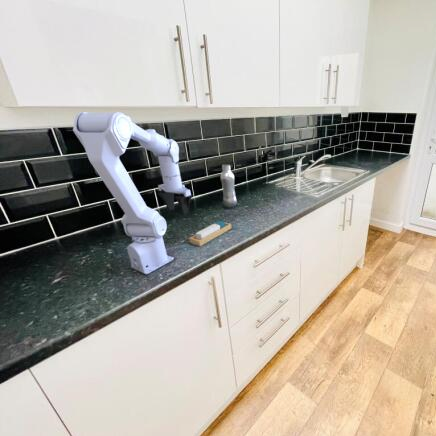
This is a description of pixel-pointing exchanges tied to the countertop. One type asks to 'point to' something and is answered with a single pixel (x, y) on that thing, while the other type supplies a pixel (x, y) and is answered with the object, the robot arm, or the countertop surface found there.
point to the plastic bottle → (228, 186)
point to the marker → (210, 230)
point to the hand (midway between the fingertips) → (178, 211)
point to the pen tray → (211, 236)
